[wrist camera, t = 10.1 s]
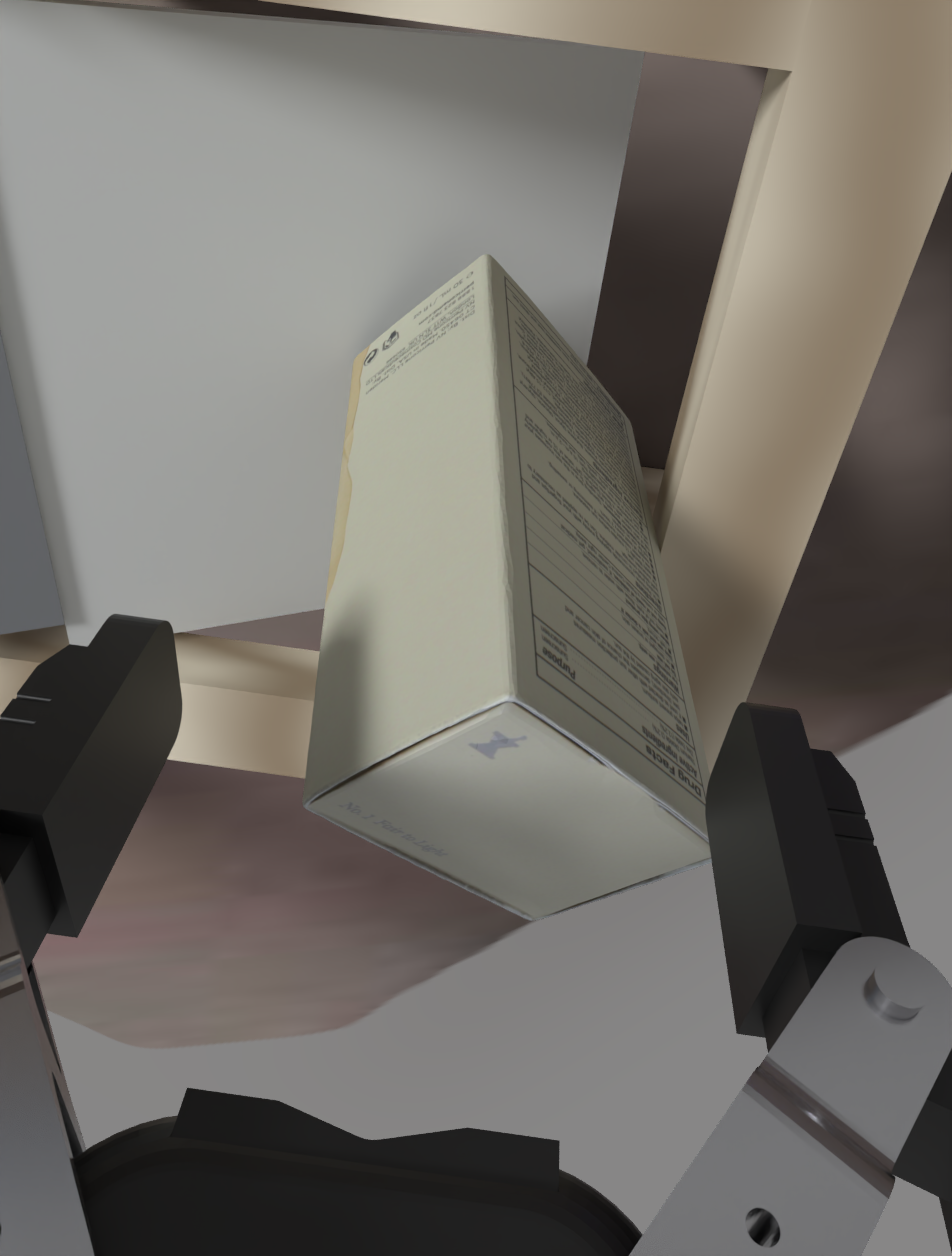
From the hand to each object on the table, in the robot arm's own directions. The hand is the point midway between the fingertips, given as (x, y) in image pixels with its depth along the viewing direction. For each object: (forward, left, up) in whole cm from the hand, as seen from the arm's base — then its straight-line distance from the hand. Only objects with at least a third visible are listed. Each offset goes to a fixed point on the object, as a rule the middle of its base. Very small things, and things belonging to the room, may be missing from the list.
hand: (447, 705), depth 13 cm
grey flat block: (-8, 0, -14) cm, 16 cm away
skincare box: (0, 0, -12) cm, 12 cm away
